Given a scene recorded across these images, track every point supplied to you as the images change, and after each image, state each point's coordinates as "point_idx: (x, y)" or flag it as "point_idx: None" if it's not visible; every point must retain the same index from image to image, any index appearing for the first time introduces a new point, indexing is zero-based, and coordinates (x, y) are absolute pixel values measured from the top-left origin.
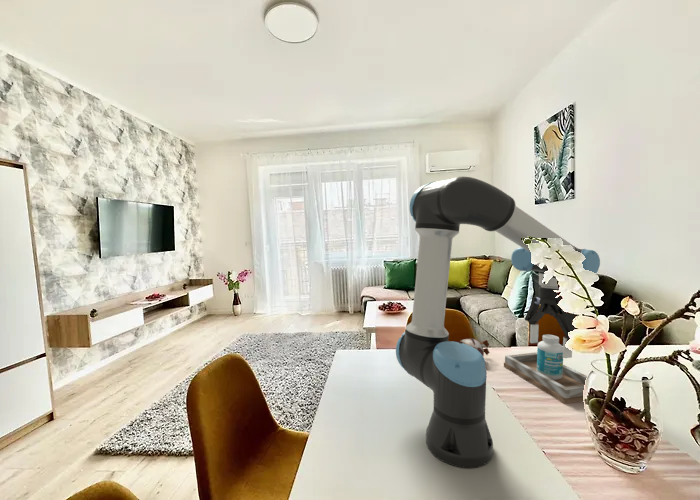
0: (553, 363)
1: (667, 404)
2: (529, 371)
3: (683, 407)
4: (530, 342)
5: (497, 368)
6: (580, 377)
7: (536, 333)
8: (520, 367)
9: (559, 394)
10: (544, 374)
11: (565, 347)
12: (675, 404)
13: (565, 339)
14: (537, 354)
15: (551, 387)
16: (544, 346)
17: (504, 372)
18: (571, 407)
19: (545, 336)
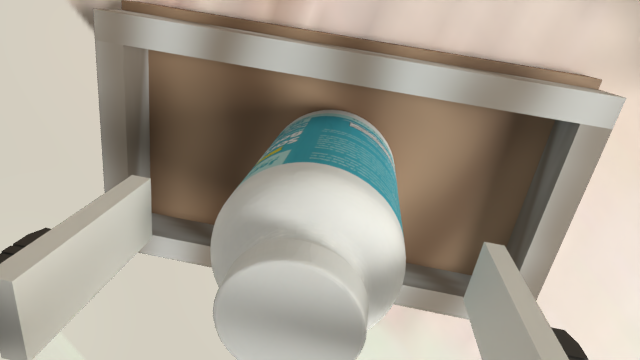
0: (256, 163)
1: (63, 338)
2: (370, 54)
3: (42, 354)
4: (496, 245)
5: (597, 11)
6: None
7: (491, 350)
8: (452, 66)
9: (157, 16)
10: (311, 114)
11: (73, 220)
12: (59, 355)
13: (2, 264)
14: (376, 166)
15: (203, 24)
16: (288, 186)
17: (529, 6)
18: (102, 2)
19: (313, 287)
